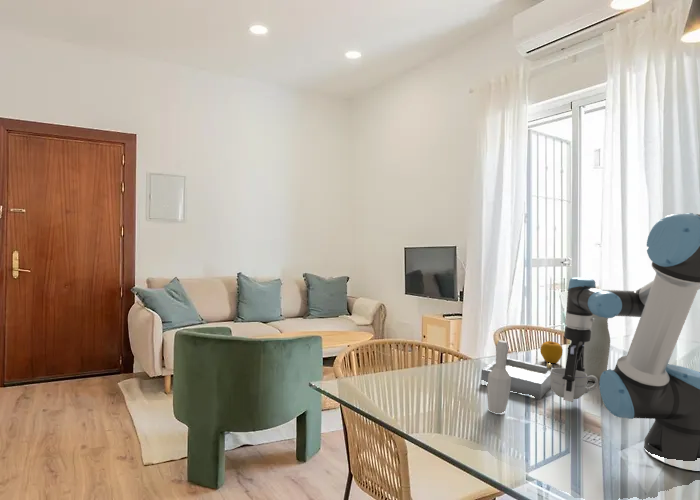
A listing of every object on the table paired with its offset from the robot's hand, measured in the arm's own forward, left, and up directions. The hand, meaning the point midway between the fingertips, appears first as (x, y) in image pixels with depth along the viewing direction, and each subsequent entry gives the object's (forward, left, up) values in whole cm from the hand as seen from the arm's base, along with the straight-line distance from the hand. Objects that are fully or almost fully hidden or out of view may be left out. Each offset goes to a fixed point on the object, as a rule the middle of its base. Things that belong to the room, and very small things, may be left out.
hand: (572, 395), depth 155 cm
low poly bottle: (-20, +17, -4) cm, 26 cm away
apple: (+44, +16, -4) cm, 48 cm away
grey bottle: (+33, -1, -4) cm, 34 cm away
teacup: (0, 0, -1) cm, 1 cm away
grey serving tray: (+9, +19, -4) cm, 22 cm away
